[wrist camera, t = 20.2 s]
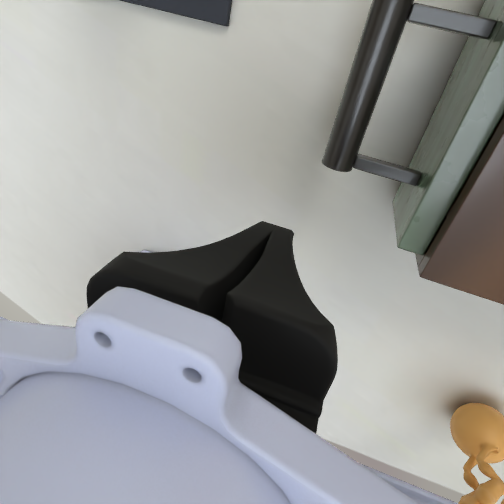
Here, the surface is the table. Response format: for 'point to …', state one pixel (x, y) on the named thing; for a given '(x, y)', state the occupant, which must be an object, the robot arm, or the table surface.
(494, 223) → the cabinet
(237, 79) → the table surface
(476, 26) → the drawer
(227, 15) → the mat
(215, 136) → the table surface
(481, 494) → the figurine
